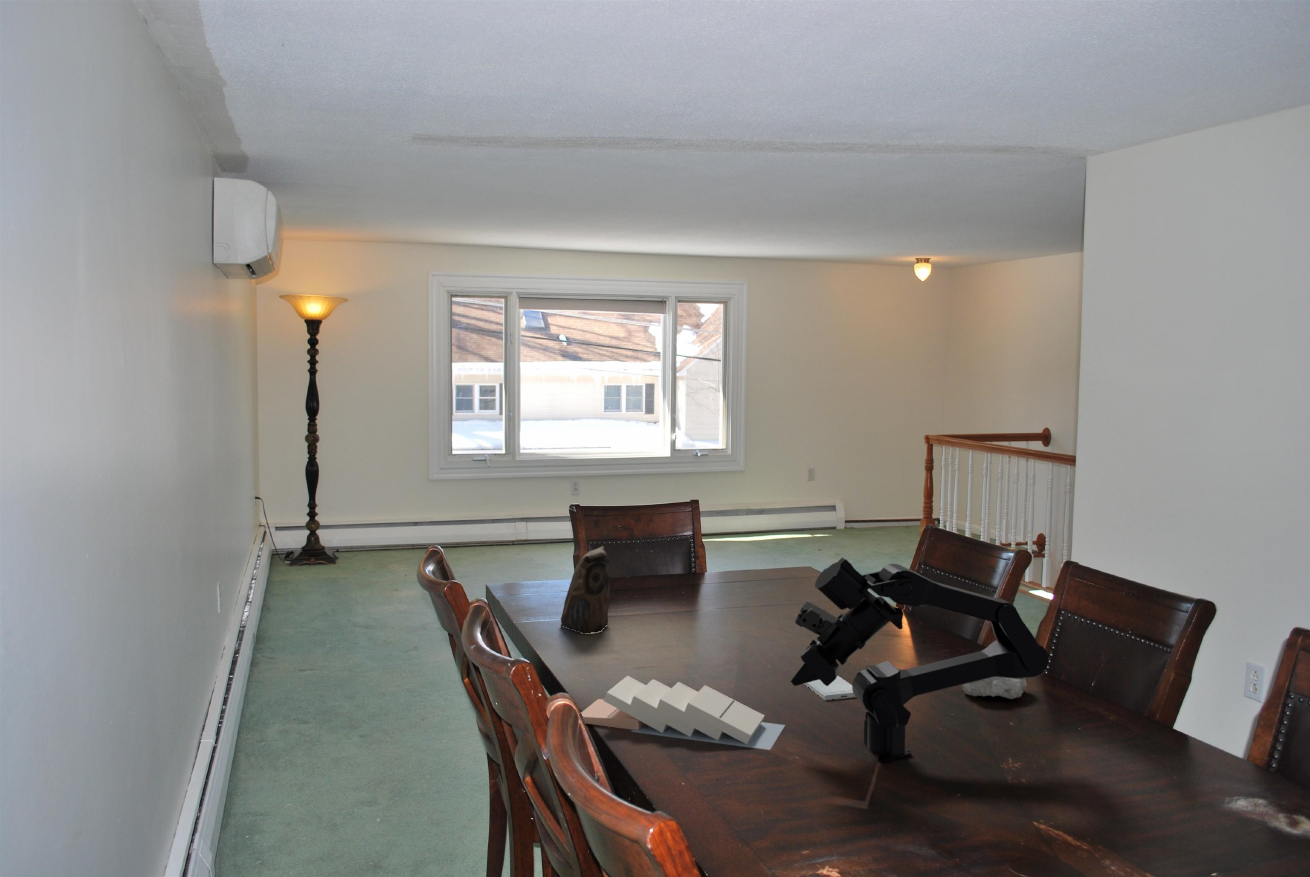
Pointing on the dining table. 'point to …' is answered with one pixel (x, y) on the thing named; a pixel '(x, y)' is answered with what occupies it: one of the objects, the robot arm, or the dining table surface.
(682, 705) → the domino
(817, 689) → the hard drive
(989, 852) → the dining table surface
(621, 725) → the domino
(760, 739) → the board
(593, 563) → the owl
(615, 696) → the domino
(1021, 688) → the rock
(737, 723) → the domino
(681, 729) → the domino
